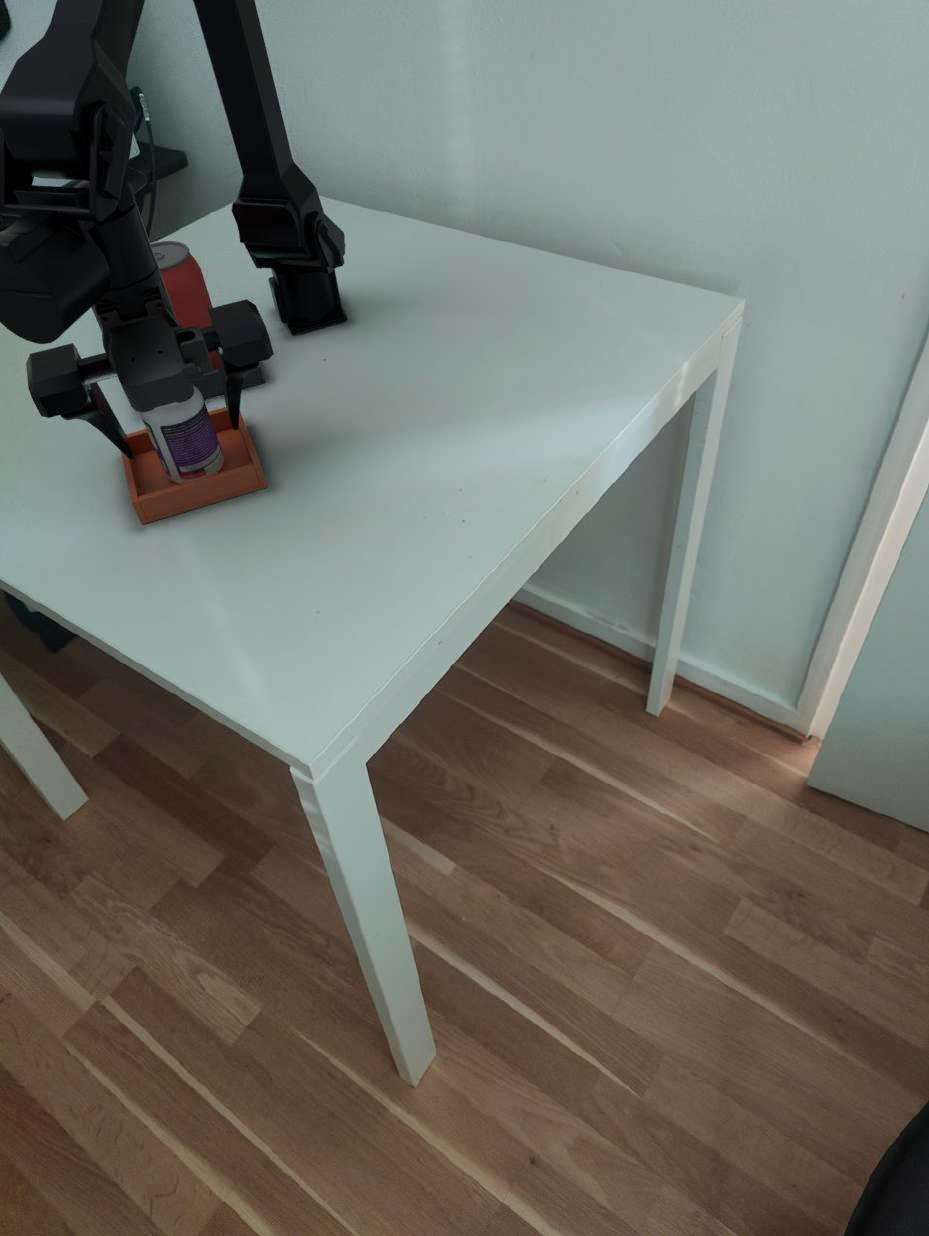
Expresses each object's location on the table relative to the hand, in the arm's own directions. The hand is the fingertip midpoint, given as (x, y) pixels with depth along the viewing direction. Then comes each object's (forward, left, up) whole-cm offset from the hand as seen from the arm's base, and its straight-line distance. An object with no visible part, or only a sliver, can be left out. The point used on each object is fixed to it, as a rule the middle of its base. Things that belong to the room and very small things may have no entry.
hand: (184, 441), depth 76 cm
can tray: (-3, -17, -4) cm, 17 cm away
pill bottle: (0, 0, -3) cm, 3 cm away
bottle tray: (0, 0, -4) cm, 4 cm away
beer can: (-3, -17, -3) cm, 17 cm away
